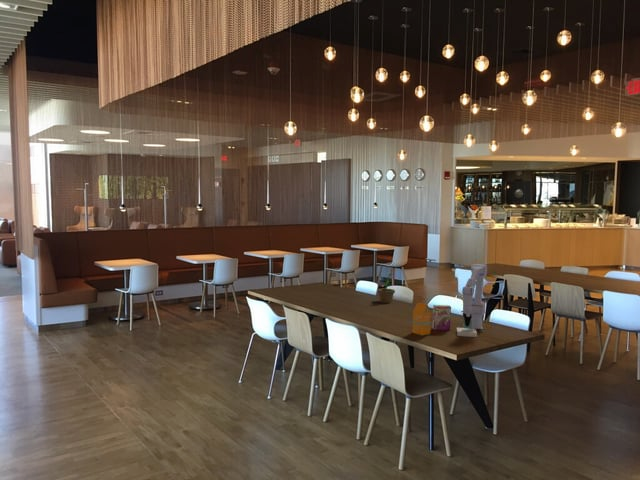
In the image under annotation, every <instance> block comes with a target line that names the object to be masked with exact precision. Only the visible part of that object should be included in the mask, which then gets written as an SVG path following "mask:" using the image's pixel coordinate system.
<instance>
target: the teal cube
mask: <svg viewBox="0 0 640 480" xmlns="http://www.w3.org/2000/svg"><path fill="white" fill-rule="evenodd" d="M462 321H463V325H462V326H463V327H462V328H468V329H473V328H472V320H470V324H469V326H465V319H464V318H463V320H462Z"/></svg>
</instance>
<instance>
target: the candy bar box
mask: <svg viewBox="0 0 640 480" xmlns="http://www.w3.org/2000/svg"><path fill="white" fill-rule="evenodd" d="M432 309H433V310H432V324H431V326H432V327H431V329H433V331H451V319H452V318H451V316H452V315H451V314H452V312H451V311H452V305H448V304H445V305H444V304H433V306H432Z"/></svg>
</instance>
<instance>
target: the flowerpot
mask: <svg viewBox="0 0 640 480" xmlns="http://www.w3.org/2000/svg"><path fill="white" fill-rule="evenodd" d="M389 278H390V280H389ZM390 281H391V282H392V281H393V268H392V267H391V268H390V274H388V277H387V279H386V282H385V288H379V289H377V292H378V294H379V302H380V303H383V304H390V303H391V302H392V303H393V299H394V294H395V293H396V289H391V288H388V284H389V283H390Z"/></svg>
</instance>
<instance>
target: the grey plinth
mask: <svg viewBox="0 0 640 480" xmlns="http://www.w3.org/2000/svg"><path fill="white" fill-rule="evenodd" d="M456 335H457V336H458V337H468V338H469V337H470V338H477V337H478V332H477V329H473V328H472V329H468V328H464V327H456Z"/></svg>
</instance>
